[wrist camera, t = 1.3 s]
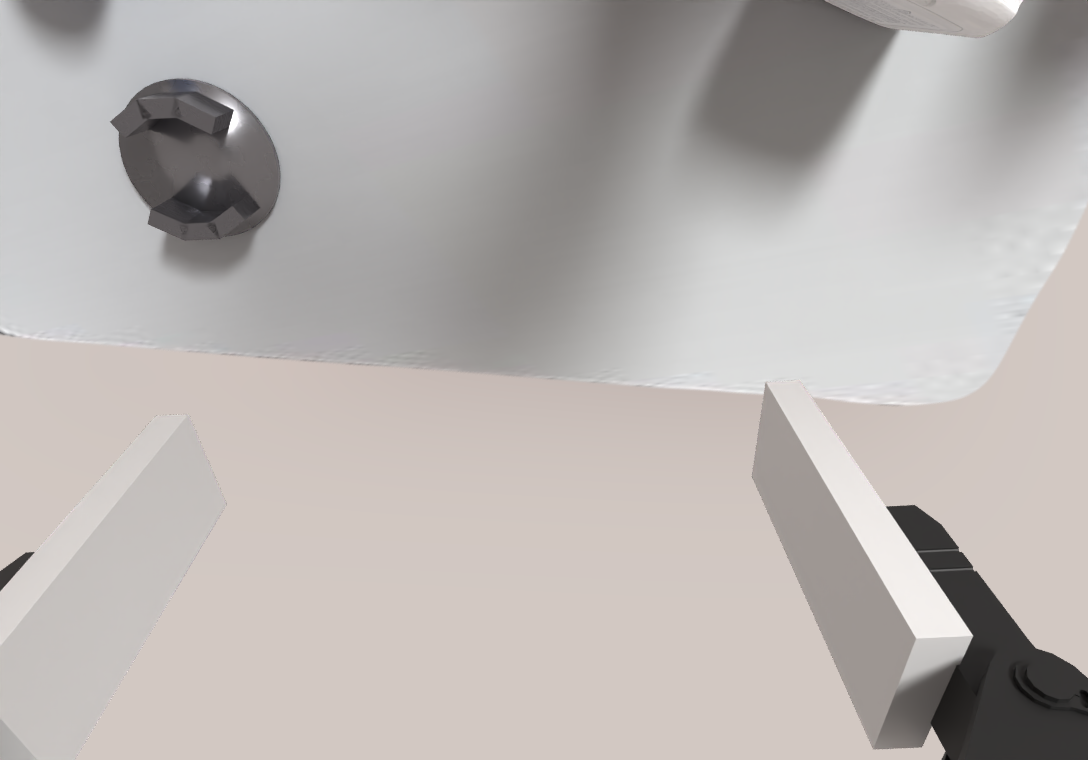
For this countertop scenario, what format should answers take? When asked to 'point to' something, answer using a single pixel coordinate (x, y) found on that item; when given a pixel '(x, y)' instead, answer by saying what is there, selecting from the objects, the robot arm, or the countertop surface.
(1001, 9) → the photo printer
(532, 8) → the countertop surface
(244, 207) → the disc
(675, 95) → the countertop surface
